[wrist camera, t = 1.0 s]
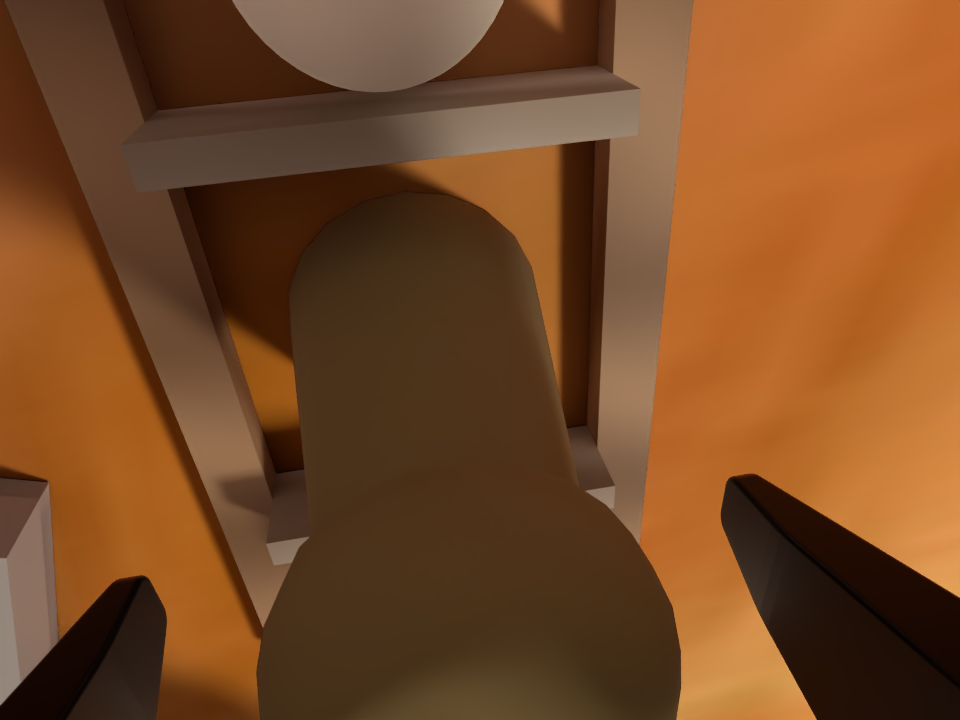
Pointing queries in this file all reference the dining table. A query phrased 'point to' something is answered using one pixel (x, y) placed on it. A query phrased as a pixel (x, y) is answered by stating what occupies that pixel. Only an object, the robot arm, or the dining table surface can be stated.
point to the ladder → (350, 144)
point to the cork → (448, 496)
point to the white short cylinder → (371, 37)
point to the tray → (25, 581)
